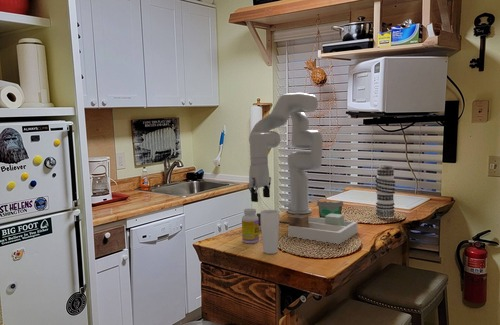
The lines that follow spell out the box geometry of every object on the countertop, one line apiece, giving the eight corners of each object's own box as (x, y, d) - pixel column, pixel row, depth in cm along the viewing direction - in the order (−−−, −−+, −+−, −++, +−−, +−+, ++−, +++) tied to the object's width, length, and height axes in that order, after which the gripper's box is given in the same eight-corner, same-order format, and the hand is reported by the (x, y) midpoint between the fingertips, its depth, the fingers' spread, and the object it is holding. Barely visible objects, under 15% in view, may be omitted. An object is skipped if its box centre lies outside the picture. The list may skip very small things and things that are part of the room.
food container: (314, 223, 192) (314, 202, 191) (317, 220, 198) (317, 199, 197) (341, 225, 188) (341, 203, 187) (343, 222, 194) (343, 200, 193)
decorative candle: (372, 215, 206) (373, 165, 204) (391, 215, 206) (392, 164, 203) (377, 219, 197) (378, 167, 195) (397, 219, 197) (398, 166, 194)
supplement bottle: (256, 244, 162) (255, 211, 160) (240, 243, 163) (239, 211, 162) (260, 239, 168) (260, 208, 167) (245, 238, 170) (244, 207, 169)
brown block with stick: (253, 226, 183) (253, 212, 182) (260, 223, 188) (260, 210, 187) (302, 232, 170) (301, 218, 169) (308, 229, 175) (308, 215, 174)
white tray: (288, 236, 171) (288, 226, 170) (309, 226, 187) (309, 216, 187) (339, 244, 159) (339, 232, 158) (357, 232, 175) (357, 221, 175)
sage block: (325, 230, 174) (325, 216, 174) (330, 227, 179) (330, 213, 179) (338, 232, 171) (338, 217, 170) (344, 228, 176) (344, 214, 175)
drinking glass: (266, 256, 147) (265, 214, 145) (258, 251, 153) (257, 210, 152) (283, 253, 149) (282, 212, 148) (274, 248, 156) (273, 208, 154)
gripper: (262, 158, 191) (263, 195, 193) (240, 163, 177) (242, 202, 179) (276, 158, 187) (277, 196, 189) (255, 163, 173) (257, 204, 175)
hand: (260, 199), depth 184 cm, fingers open, 9 cm apart
